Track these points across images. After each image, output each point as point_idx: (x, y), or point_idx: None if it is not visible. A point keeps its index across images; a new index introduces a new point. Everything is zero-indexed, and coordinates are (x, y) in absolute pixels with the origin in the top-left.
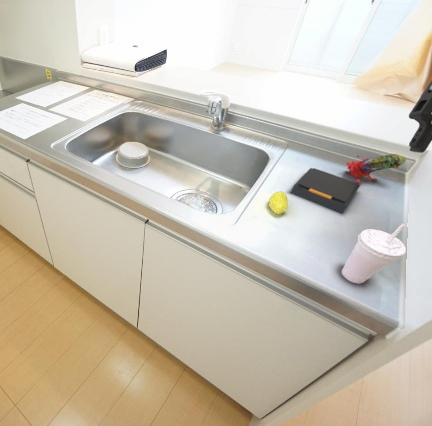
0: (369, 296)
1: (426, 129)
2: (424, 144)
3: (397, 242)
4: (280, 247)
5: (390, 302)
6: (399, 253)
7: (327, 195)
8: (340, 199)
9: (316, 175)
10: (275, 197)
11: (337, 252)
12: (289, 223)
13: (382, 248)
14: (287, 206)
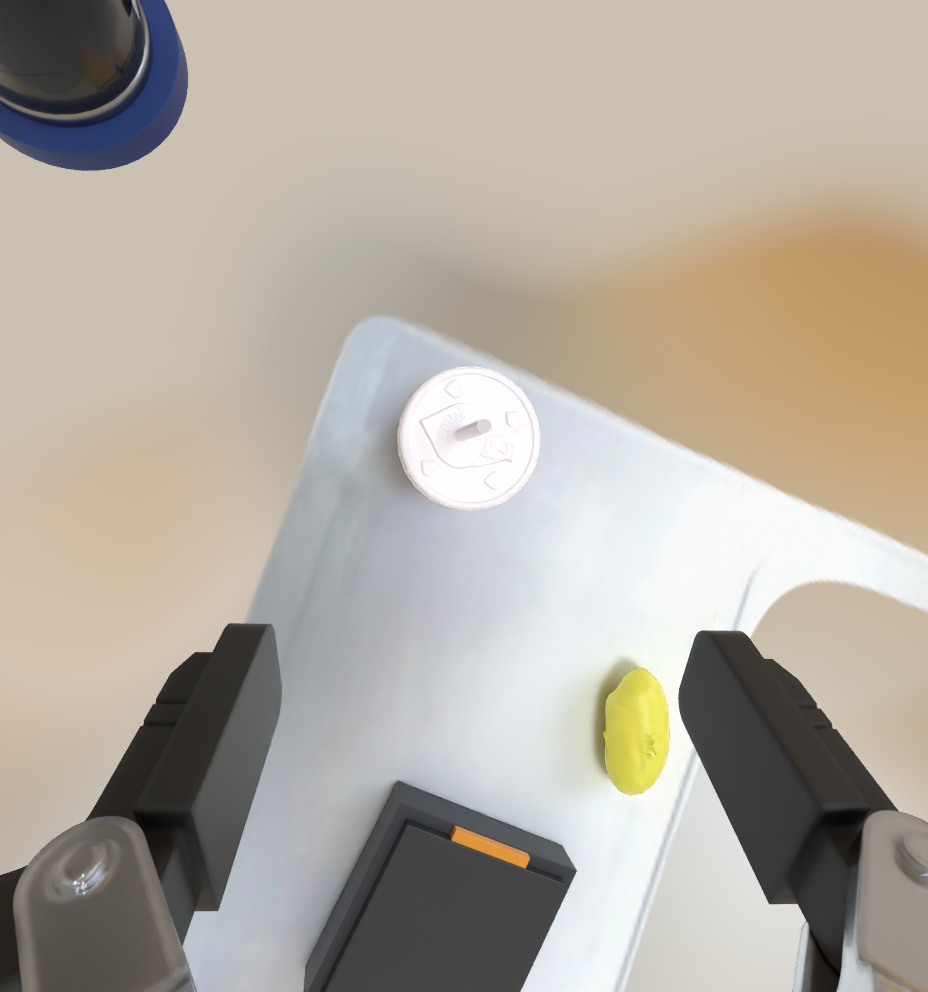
0: (410, 376)
1: (863, 794)
2: (756, 666)
3: (420, 451)
4: (626, 508)
5: (357, 369)
6: (434, 386)
7: (468, 840)
8: (425, 830)
9: (485, 988)
10: (667, 735)
11: (459, 544)
12: (586, 645)
13: (485, 397)
14: (620, 704)
